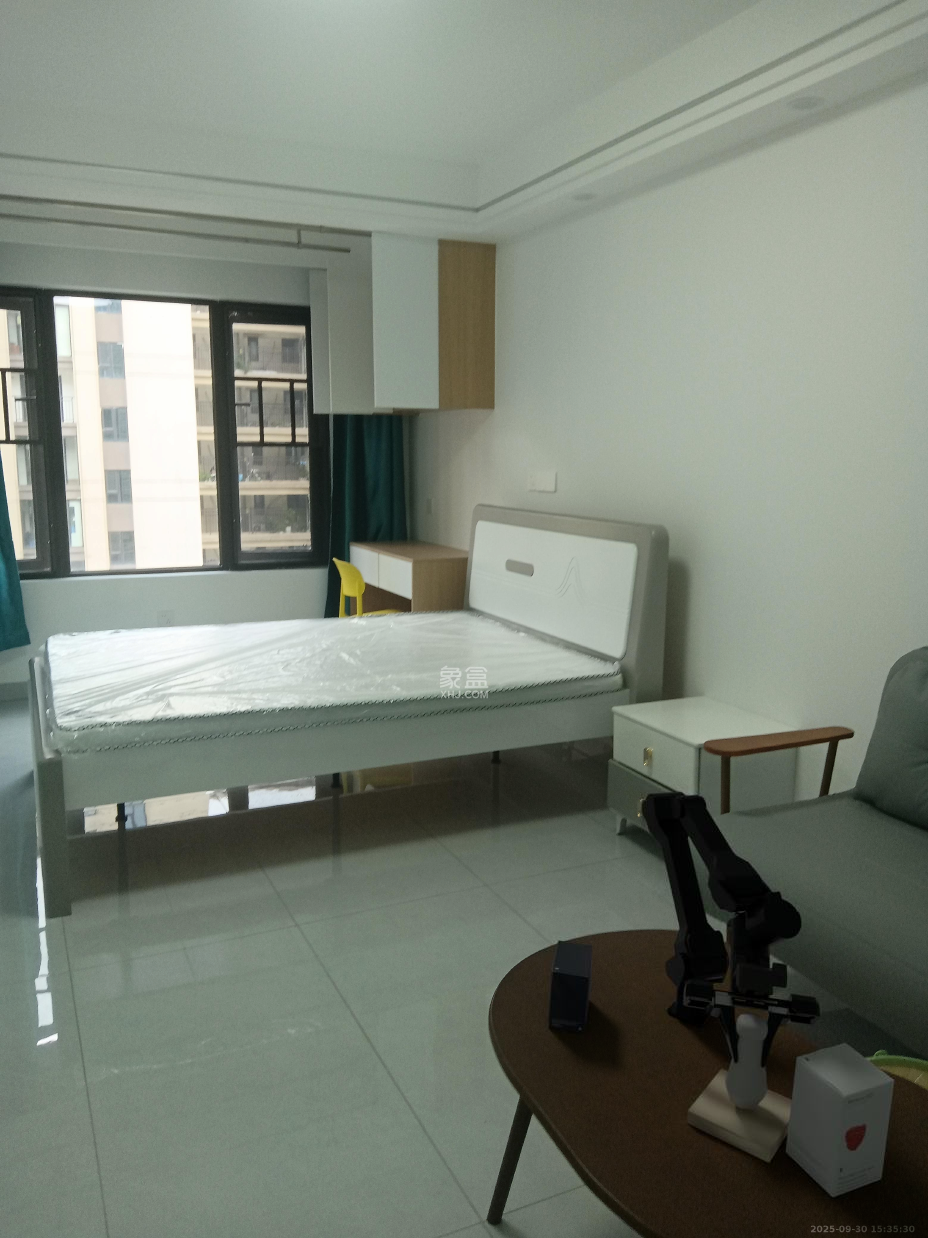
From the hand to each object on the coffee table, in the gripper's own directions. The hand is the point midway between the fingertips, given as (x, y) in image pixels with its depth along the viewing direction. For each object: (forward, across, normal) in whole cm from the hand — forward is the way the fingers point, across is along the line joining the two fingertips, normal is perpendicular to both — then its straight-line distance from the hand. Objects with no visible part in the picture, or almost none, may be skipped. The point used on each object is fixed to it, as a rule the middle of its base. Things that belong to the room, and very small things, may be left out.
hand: (749, 1065), depth 134 cm
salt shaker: (+4, 0, +6) cm, 7 cm away
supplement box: (+11, +11, +3) cm, 16 cm away
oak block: (+6, 0, +8) cm, 10 cm away
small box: (-7, -27, +22) cm, 36 cm away
